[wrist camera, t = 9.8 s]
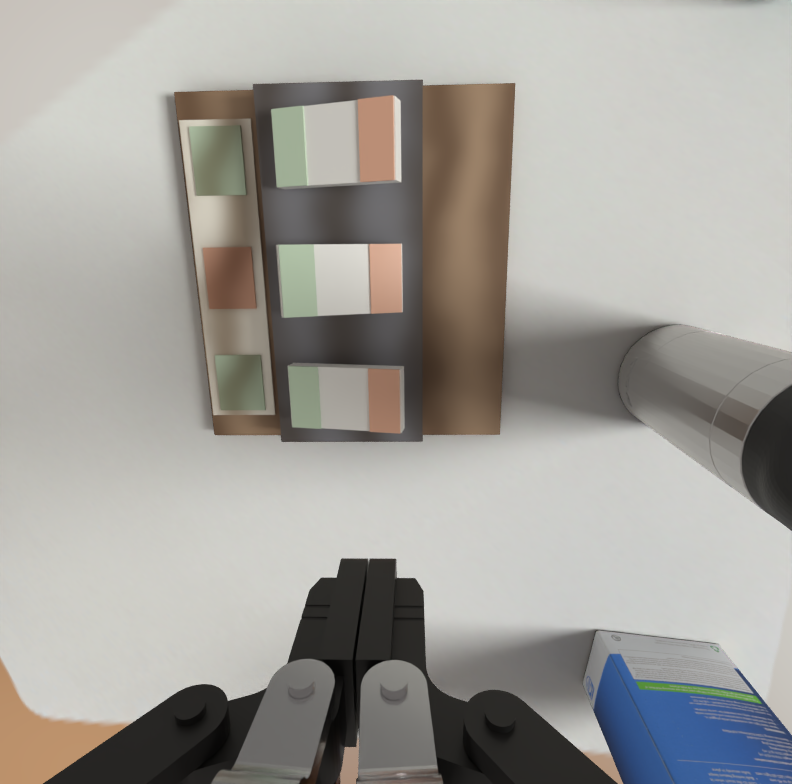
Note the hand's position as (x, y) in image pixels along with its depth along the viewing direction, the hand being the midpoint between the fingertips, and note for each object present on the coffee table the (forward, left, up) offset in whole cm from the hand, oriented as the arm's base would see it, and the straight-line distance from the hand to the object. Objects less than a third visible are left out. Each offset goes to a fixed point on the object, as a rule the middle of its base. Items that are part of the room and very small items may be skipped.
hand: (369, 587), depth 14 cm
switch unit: (+4, -7, -32) cm, 33 cm away
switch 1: (+4, -16, -26) cm, 31 cm away
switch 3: (+4, +2, -26) cm, 26 cm away
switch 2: (+4, -7, -26) cm, 27 cm away
